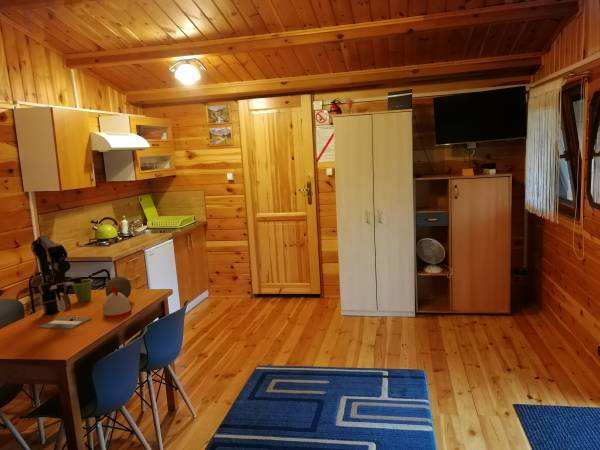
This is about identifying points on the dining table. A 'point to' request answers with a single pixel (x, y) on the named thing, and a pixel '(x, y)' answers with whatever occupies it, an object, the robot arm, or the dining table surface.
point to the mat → (65, 323)
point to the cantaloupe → (119, 286)
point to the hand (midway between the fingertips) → (62, 299)
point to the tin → (64, 302)
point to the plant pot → (83, 290)
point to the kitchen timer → (116, 305)
